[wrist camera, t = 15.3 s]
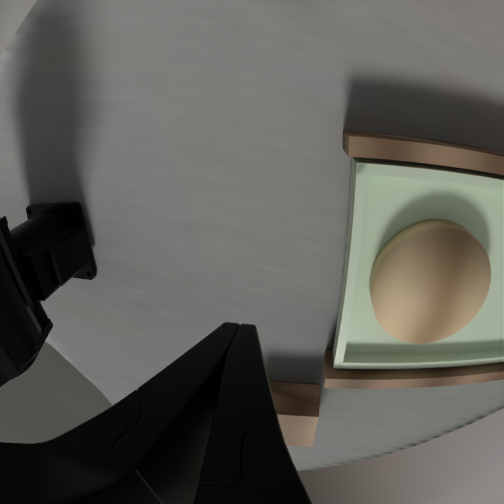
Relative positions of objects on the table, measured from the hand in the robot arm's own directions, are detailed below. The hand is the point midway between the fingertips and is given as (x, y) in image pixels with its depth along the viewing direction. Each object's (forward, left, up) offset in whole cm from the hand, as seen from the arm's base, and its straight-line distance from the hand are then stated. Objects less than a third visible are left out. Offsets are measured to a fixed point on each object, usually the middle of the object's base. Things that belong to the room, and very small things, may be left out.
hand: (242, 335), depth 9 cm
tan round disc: (+9, -4, -11) cm, 15 cm away
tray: (+12, -4, -12) cm, 17 cm away
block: (+1, -18, -12) cm, 22 cm away
